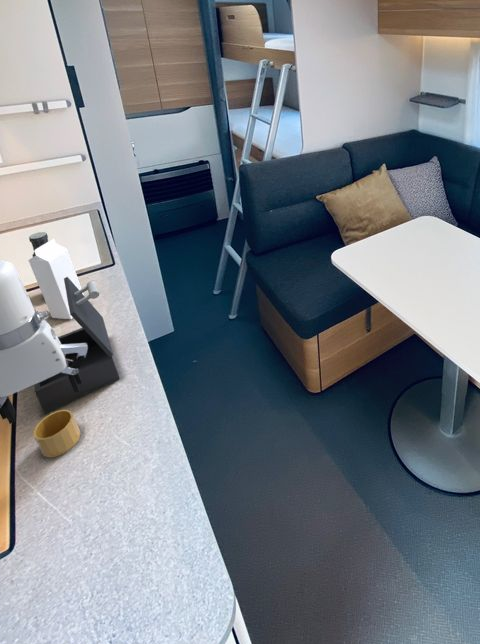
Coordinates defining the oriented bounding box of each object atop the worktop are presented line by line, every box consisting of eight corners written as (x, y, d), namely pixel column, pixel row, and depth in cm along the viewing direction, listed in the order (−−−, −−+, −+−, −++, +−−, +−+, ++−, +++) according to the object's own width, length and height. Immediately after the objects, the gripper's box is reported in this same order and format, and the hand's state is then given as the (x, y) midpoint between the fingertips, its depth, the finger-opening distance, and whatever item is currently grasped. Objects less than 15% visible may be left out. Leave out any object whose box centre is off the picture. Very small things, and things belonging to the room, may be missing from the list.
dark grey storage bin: (45, 414, 85) (34, 392, 83) (41, 367, 97) (32, 347, 94) (119, 378, 93) (112, 357, 91) (108, 339, 105) (101, 319, 102)
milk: (52, 318, 113) (22, 250, 104) (70, 303, 118) (43, 237, 110) (71, 319, 112) (43, 251, 103) (88, 305, 117) (63, 238, 109)
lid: (70, 314, 83) (97, 298, 85) (63, 278, 94) (87, 265, 97) (109, 357, 91) (133, 341, 93) (99, 319, 102) (121, 306, 104)
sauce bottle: (50, 302, 119) (27, 244, 111) (40, 296, 122) (16, 238, 114) (75, 290, 124) (54, 233, 116) (64, 284, 127) (43, 228, 119)
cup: (37, 462, 76) (27, 444, 74) (48, 433, 82) (40, 415, 80) (75, 450, 78) (67, 432, 76) (84, 422, 83) (76, 405, 82)
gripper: (70, 297, 77) (97, 365, 84) (-57, 343, 67) (-15, 415, 74) (74, 318, 72) (102, 388, 78) (-63, 371, 62) (-17, 447, 68)
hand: (46, 401), depth 76 cm, fingers open, 9 cm apart
